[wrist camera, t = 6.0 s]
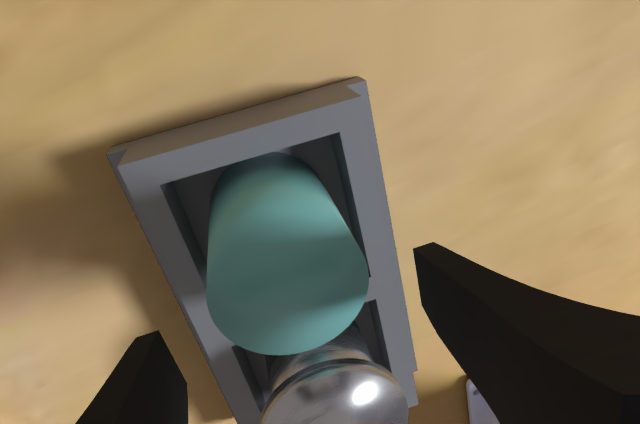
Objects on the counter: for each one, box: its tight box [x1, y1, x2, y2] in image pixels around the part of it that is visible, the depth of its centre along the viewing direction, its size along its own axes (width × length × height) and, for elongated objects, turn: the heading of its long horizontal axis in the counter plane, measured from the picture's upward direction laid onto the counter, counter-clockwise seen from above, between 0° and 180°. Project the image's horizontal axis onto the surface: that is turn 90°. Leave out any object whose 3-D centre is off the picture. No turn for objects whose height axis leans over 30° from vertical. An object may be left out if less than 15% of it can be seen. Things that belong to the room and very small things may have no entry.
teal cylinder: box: [206, 152, 369, 355], centre depth 16 cm, size 5×5×6 cm
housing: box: [106, 76, 419, 424], centre depth 18 cm, size 16×10×6 cm, turn 13°
